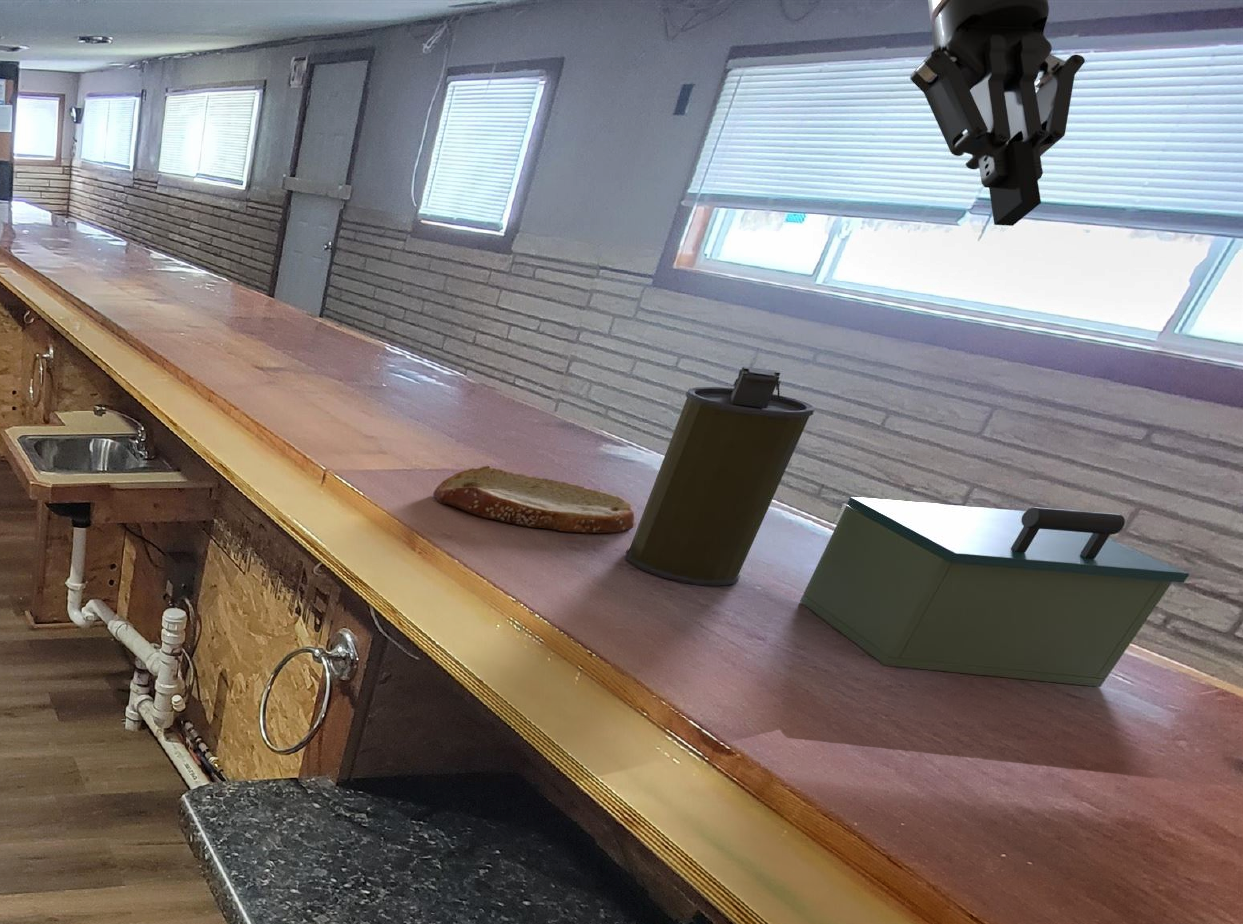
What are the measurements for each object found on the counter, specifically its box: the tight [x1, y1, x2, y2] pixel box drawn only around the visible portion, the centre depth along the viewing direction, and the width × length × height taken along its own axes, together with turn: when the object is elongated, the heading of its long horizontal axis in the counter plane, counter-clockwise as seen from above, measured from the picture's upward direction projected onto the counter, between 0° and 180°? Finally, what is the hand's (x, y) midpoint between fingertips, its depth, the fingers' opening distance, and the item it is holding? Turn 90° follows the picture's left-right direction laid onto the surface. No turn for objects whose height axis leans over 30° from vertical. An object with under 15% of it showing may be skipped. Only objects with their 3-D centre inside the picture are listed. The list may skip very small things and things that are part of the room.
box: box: [799, 505, 1173, 688], centre depth 86 cm, size 14×17×10 cm
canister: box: [625, 366, 816, 587], centre depth 97 cm, size 11×10×20 cm
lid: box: [846, 496, 1190, 584], centre depth 82 cm, size 14×17×4 cm
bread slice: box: [433, 465, 636, 534], centre depth 115 cm, size 18×18×4 cm
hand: (1017, 213), depth 85 cm, fingers closed
